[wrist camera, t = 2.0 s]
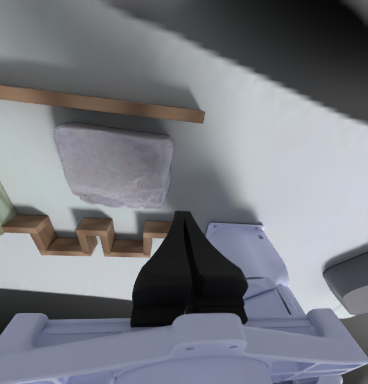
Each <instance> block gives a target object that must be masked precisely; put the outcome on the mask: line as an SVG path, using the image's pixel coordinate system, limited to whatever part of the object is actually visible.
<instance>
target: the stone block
mask: <svg viewBox="0 0 368 384" xmlns="http://www.w3.org/2000/svg"><path fill="white" fill-rule="evenodd" d="M54 138H55V142H56V144H57V150H58V152H59V154H60V159H61V162H62V166H63V170H64V175H65V178H66V181H67V183H68V185H69V187H70V189H71V191H72V192H73V194H74V195H77V196H79V197H80V199H81V200H83V201H85V202H87V203H89V204H102V205H104V206H108V207H118V208H119V207H128V208H145V209H158V208H160V207H161V206H162V205H163V203H164V201H165V199H166V196H167V192H168V188H169V185H170V181H171V175H170V171H171V169H170V165H171V160H172V158H173V142H172V139H171V137H170V136H168V135H162V134H155V133H148V132H141V131H133V130H127V129H119V128H112V127H104V126H97V125H91V124H84V123H69V122H67V123H64V124H61V125H58V126H57V127H56V128H55V134H54Z"/></svg>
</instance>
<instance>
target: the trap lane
mask: <svg viewBox="0 0 368 384" xmlns="http://www.w3.org/2000/svg"><path fill="white" fill-rule="evenodd" d="M0 99H2V100H11V101H19V102H27V103H36V104H44V105H52V106H61V107H69V108H77V109H86V110H94V111H103V112H111V113H119V114H128V115H136V116H144V117H153V118H161V119H169V120H178V121H186V122H194V123H203V121H204V115H205V112H204V111H201V110H194V109H187V108H179V107H171V106H163V105H156V104H148V103H140V102H132V101H125V100H117V99H109V98H101V97H93V96H86V95H78V94H70V93H62V92H55V91H47V90H39V89H31V88H24V87H16V86H8V85H0ZM171 225H172V222H162V221H146V222H145V226H144V230H143V241H138V240H116V239H115V233H114V227H113V220H112V219H100V218H84V219H83V220H82V222H81V223H80V224H79V226H78V227H77V228H76V233H77V236H78V238H57V236H56V233H55V231H54V229H53V226H52V224H51V222H50V219H49V217H48V216H38V215H18V214H17V212H16V210H15V208H14V207H13V205H12V203H11V201H10V199H9V198H8V196H7V194H6V192H5V190H4V189H3V187H2V185H1V183H0V235H2V234H3V233H5V232H7V233H30V235H31V237H32V239H33V240H34V242H35V244H36V246H37V248H38V250H39V251H40V253H41V255H64V256H91V255H92V253H93V251H94V249H95V247H96V245H97V244H98V243H97V238H96V236H100V239H101V244H102V248H103V252H104V256H106V257H149V258H150V254H151V248H152V238H165V237H166V236H167V234H168V232H169V230H170V227H171Z"/></svg>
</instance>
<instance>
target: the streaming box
mask: <svg viewBox="0 0 368 384" xmlns="http://www.w3.org/2000/svg"><path fill="white" fill-rule="evenodd" d="M323 277H324V279H325V280H326V282H327V284H328V286H329V288H330V290H331V291H332V293H333V294H334V295H335V296H336V298H337V299H338V300H339V301H340V302H341V304H342V305H343V306H344V307H345V309H346V310H347V311H348V312H349V313H350V314H352V315H358V314H363V313H367V312H368V253H366V254H363V255H361V256H358V257H356V258H353V259H351V260H348V261H345V262H343V263H340V264H338V265H335V266H333V267H331V268H329V269H328V270H327V271H325V273H324V274H323Z"/></svg>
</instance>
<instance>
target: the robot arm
mask: <svg viewBox="0 0 368 384" xmlns="http://www.w3.org/2000/svg"><path fill="white" fill-rule="evenodd" d="M215 225H216V226H215ZM264 229H265V227H264V226H263V225H250V224H230V223H210V224H209V225H208V229H207V233H206V237H205V235H204V234H203V233H202V231H201V230H200V228H199V227H198V225H197V223H196V222H195V220H194V218H193V216H192V214H191V212H188V211H175V214H174V219H173V222H172V225H171V227H170V230H169V232H168V234H167V236H166V237H165V239H164V241H163V242H162V244H161V245H160V247H159V248H158V250H157V251H156V252H155V253H154V255H153V256H152V257H151V258H150V260H149V261H148V262H147V263H146V264H145V265H144V266H143V267H142V269H141V271H140V272H139V274H138V276H137V279H136V281H135V284H134V288H133V293H132V300H133V311H132V316H131V318H128V319H127V318H125V319H79V320H78V319H77V320H48V318H47V316H46V315H45V314H41V313H19V314H16V315H15V316H14V318H13V319H12V321H11V322H10V323H9V325H8V326H7V327H6V329H5V330H4V331H3V333H2V334H1V336H0V384H342V383H343V379H342V377H341V374H344V373H346V372H349V371H351V370H353V369H356V368H359V367H361V366H363V365H366V364H368V357H367V356H366V355H365V353H364V352H363V351H362V349H361V348H360V347H359V346H358V344H357V343H356V341H355V340H354V339H353V338H352V336H351V335H350V333H349V332H348V331H347V330H346V328H345V327H344V325H343V324H342V323H341V322H340V320H339V319H338V317H337V316H336V315H335V313H334V312H333V311H332V309H330V308H325V309H313V310H311V311H309V312H308V313H307V315H305V313H304V311H303V310H302V308H301V307H300V305H299V303H298V302H297V300H296V298H295V297H294V295H293V293H292V292H291V290H290V289H289V287H288V284H289V277H288V272H287V269H286V266H285V264H284V262H283V260H282V259H281V257H280V256H279V254H278V253H277V251H276V250H275V248H274V247H273V245H272V244H271V242H270V241H269V239H268V238H267V236H266V235H265V233H264V232H263V231H264ZM184 311H185V315H184Z"/></svg>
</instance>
